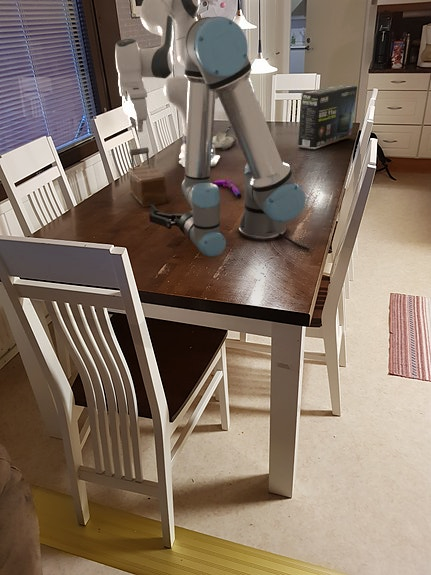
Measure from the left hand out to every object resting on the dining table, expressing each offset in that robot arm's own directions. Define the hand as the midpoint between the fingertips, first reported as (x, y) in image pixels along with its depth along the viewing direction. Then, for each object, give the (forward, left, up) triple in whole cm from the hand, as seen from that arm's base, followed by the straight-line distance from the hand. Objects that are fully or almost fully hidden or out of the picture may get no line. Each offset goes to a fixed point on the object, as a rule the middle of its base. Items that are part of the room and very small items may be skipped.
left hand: (136, 129), depth 174 cm
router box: (-97, +56, -25) cm, 115 cm away
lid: (+4, +4, -16) cm, 17 cm away
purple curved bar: (-12, +32, -25) cm, 42 cm away
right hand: (+24, +25, -18) cm, 40 cm away
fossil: (-77, +3, -25) cm, 81 cm away
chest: (+5, +5, -25) cm, 26 cm away
